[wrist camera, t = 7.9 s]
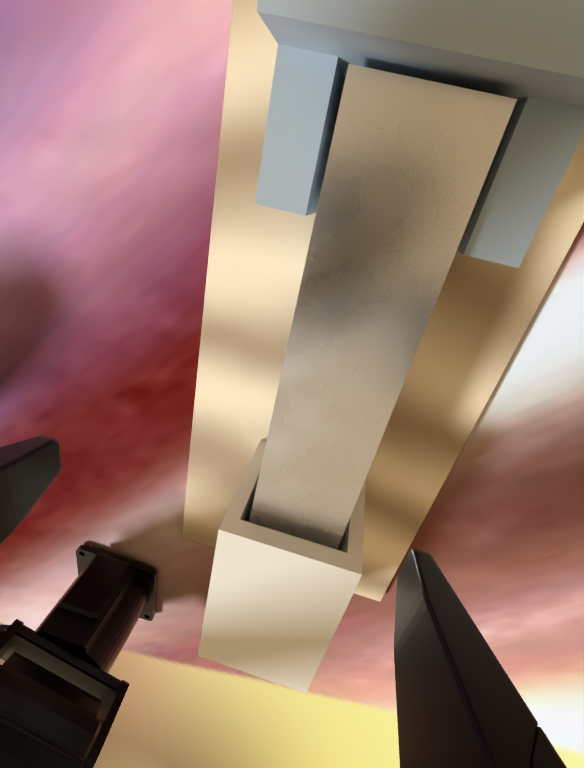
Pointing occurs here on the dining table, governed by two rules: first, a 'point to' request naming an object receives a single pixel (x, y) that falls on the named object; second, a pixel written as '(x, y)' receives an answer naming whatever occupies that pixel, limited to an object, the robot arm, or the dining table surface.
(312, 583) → the sleeve
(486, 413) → the dining table surface
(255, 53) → the base board
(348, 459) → the extension bar
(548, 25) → the socket
